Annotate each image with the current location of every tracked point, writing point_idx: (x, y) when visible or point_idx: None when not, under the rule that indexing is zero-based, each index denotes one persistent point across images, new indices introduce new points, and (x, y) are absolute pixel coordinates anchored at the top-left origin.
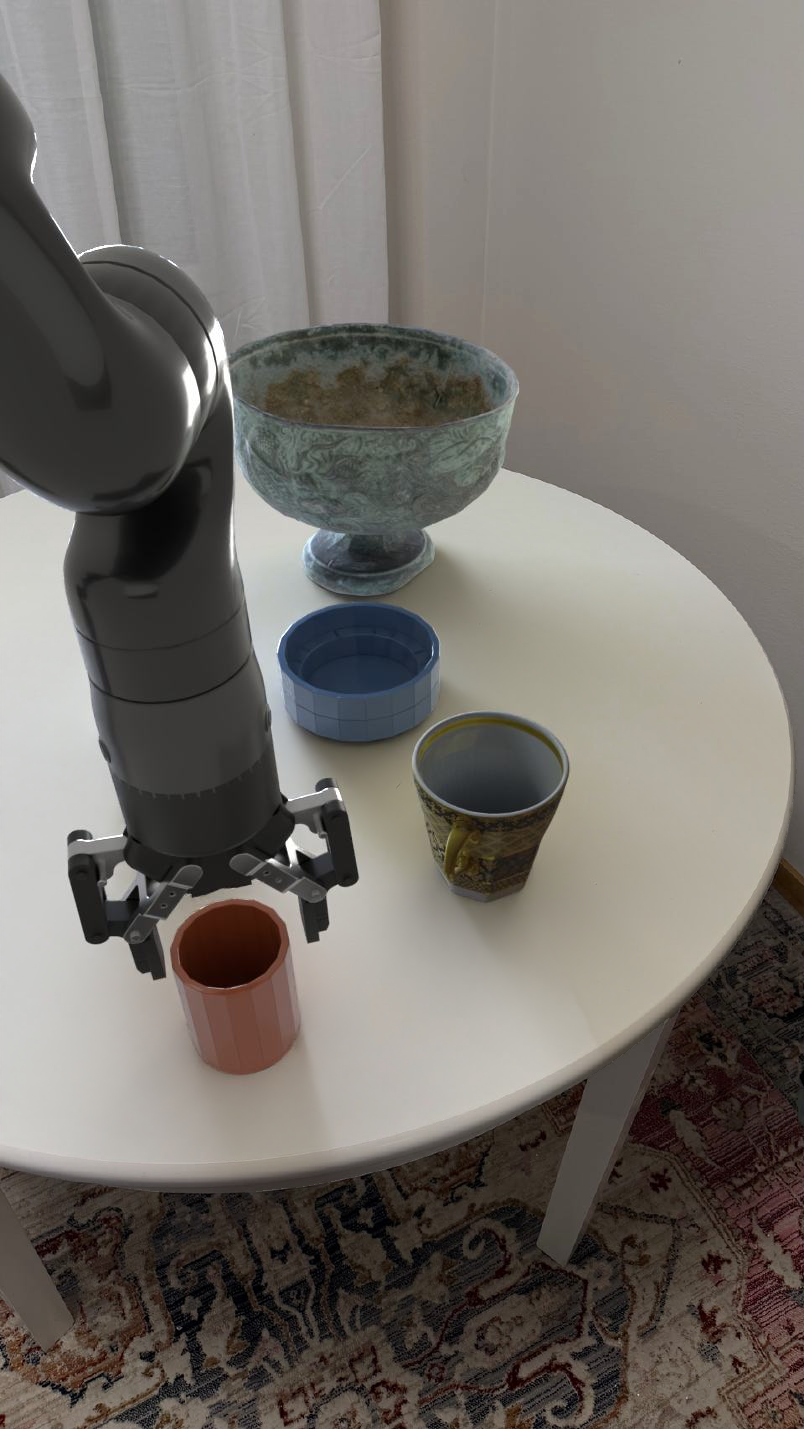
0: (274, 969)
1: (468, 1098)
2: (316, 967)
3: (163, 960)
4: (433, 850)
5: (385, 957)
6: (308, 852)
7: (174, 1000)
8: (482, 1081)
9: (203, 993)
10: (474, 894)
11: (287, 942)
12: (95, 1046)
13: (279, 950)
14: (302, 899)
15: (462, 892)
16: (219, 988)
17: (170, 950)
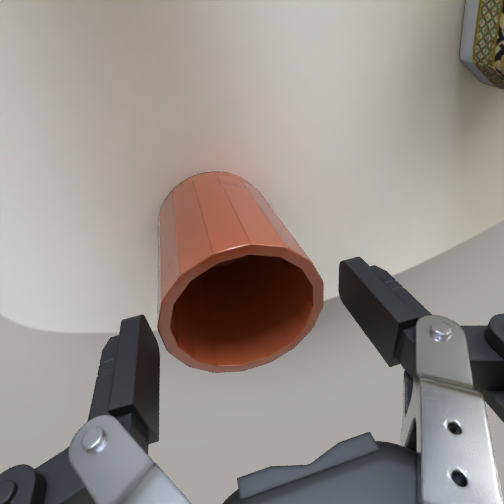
0: (300, 340)
1: None
2: (288, 157)
3: (151, 342)
4: (495, 3)
5: (358, 149)
6: (467, 354)
7: (128, 193)
8: (387, 265)
9: (215, 371)
10: (481, 77)
11: (320, 307)
12: (51, 246)
13: (309, 318)
14: (393, 358)
15: (471, 68)
16: (234, 365)
17: (159, 331)
